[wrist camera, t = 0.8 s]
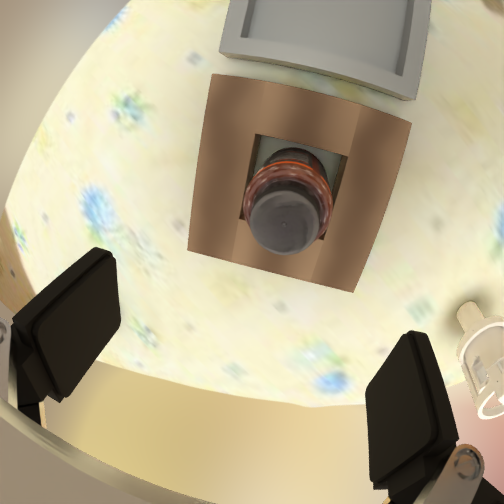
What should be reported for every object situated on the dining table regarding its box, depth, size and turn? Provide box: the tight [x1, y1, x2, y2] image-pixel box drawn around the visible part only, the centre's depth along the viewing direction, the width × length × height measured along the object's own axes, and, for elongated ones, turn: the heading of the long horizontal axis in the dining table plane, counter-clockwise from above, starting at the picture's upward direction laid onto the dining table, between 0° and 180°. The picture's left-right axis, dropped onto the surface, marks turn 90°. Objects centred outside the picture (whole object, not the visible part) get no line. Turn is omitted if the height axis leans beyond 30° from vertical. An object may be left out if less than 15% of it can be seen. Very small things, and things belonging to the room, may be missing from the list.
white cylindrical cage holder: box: [457, 301, 504, 419], centre depth 23 cm, size 7×7×15 cm
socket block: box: [187, 74, 412, 293], centre depth 25 cm, size 16×16×4 cm
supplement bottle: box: [243, 148, 333, 255], centre depth 22 cm, size 6×6×11 cm
